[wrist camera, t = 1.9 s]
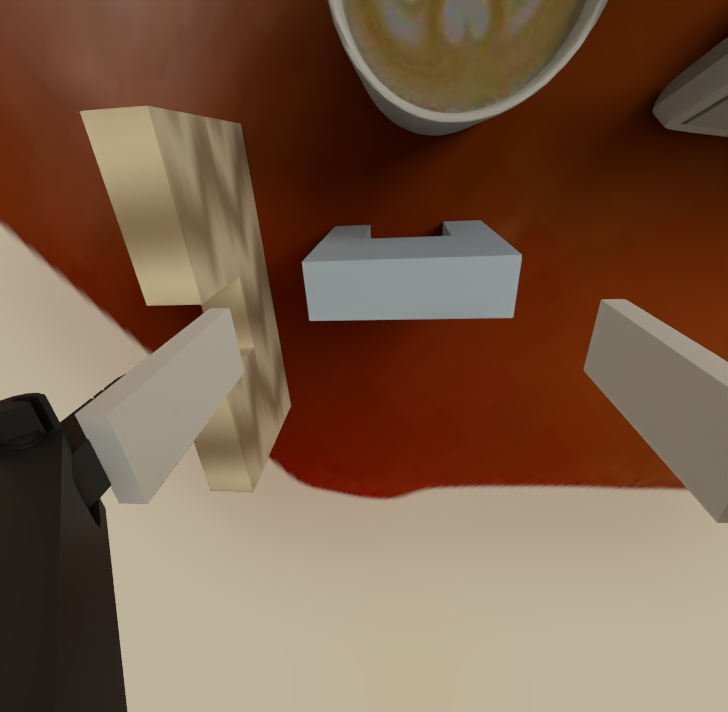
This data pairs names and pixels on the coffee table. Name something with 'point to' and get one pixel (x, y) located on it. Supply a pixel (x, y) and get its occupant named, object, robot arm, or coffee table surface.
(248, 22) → the coffee table surface
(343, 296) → the bridge plate
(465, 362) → the coffee table surface
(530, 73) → the coffee mug
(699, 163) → the coffee table surface
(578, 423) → the coffee table surface
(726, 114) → the digital clock
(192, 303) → the maple rail
